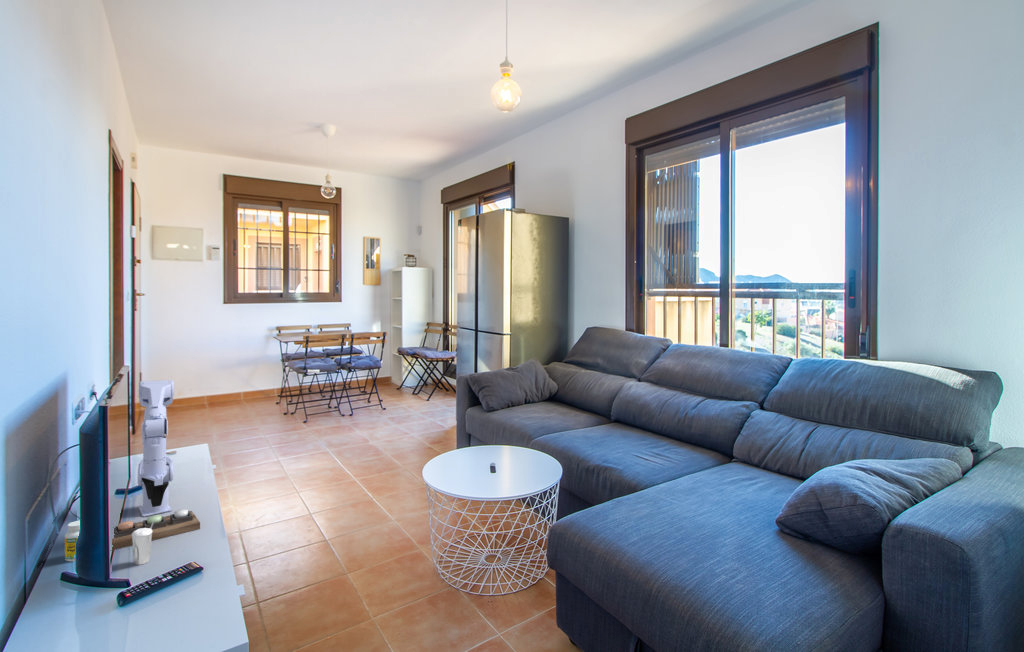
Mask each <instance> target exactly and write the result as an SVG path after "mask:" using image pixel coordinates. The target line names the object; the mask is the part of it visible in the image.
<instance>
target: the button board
mask: <svg viewBox="0 0 1024 652" xmlns="http://www.w3.org/2000/svg"><path fill="white" fill-rule="evenodd" d="M161 516H162V515H161ZM151 525H152V524H151ZM151 525H148V524H147V519H143V520H142V521H138V522H136V521H133V528H132V529H128V530H124V531H118V525H117V526H114V527H115V528H114V527H113V528H114V534H115V535H114V538H113V539H112V545H113V547H112V550H111V551H115V550H119V549H122V548H127V547H131V546H132V547H133V542H132V533H133V532H134V531H136V530H137V529H140V528H151ZM200 529H201V522H200V520H199V518H197V516H196V514H195V513H194V512H193V510H188V516H186V517H182V518H177V519H175V518H174V513H173V514H171V513H170V514H169V515H167V516H162V518H161V522H160V523H155V524H153V526H152V539H151V542H152V541H155V540H160V539H164V538H168V537H172V536H177V535H181V534H185V533H189V532H190V533H191V532H193V531H197V530H200Z"/></svg>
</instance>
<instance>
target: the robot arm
mask: <svg viewBox="0 0 1024 652" xmlns="http://www.w3.org/2000/svg"><path fill="white" fill-rule="evenodd" d="M174 387H175V383H174V380H173V379H165V380H163V379H162V380H140V382H139V383H138V398H139V399H138V401H139V403H140V406H141V407H144V408H145V409H144V414H143V415H144V416H143V417H144V418H143V421H142V423H141V431H140V432H141V439H142V440H141V441H142V446H143V447H142V448H143V449H142V451H143V453H142V460H140V461H139V463H138V467H137V485H138V486H139V487H141V489H142V506H139V507H138V510H139V512H140V514H141V515H142V516H141V517H150V516H153V515H160V514H162V513H163V514H164V513H168V512H171V511H172V507H171V506H170V504H169V503H170V502H169V501H170V500H169V499H170V498H169V497H170V496H169V495H170V494H169V492H170V490H169V489H170V488H169V486H170V483H171V482H173V480H174V459H173V458H172V457H170V456H168V455H167V437H168V435H169V421H168V417H167V407H168V406H170V405H172V404H173V401H174V396H175V395H174V394H175V388H174Z"/></svg>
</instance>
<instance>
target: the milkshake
mask: <svg viewBox="0 0 1024 652" xmlns="http://www.w3.org/2000/svg"><path fill="white" fill-rule="evenodd" d="M153 523H154V522H152V525H151V528H140V529H137V530H136V531H134V532H133V533H132V542H133V545H132V551H133V553H132V554H133V563H134V565H136V566H141V565H145V564H147V563H149V561H150V560H151V559H150V557H151V548H152V541H151V539H152V526H153Z"/></svg>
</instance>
